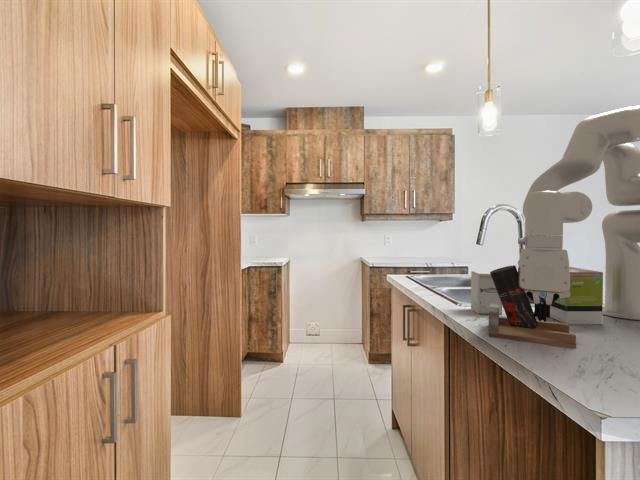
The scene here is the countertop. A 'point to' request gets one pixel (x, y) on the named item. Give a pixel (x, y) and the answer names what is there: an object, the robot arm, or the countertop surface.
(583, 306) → the tea box
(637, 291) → the robot arm
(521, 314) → the black package box
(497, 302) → the supplement box
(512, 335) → the channel
